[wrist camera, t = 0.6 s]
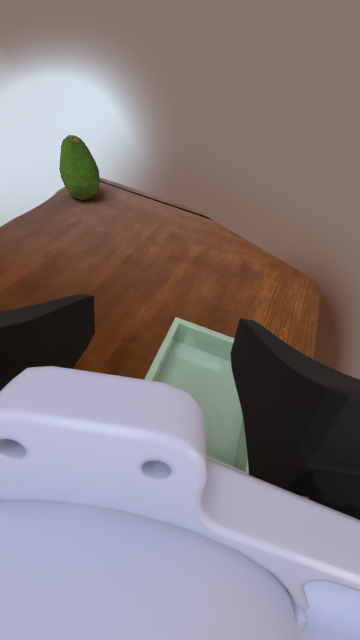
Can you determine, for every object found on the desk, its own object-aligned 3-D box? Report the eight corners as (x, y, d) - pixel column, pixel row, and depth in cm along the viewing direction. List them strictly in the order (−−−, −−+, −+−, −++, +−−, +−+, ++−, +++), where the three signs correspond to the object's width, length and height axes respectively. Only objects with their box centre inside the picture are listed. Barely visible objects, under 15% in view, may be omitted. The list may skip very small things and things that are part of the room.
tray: (236, 489, 24) (252, 485, 20) (122, 438, 25) (120, 427, 22) (256, 368, 33) (270, 351, 30) (172, 336, 35) (175, 316, 31)
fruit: (62, 204, 53) (45, 138, 44) (70, 188, 58) (57, 126, 48) (99, 208, 54) (90, 145, 45) (104, 192, 59) (98, 132, 49)
